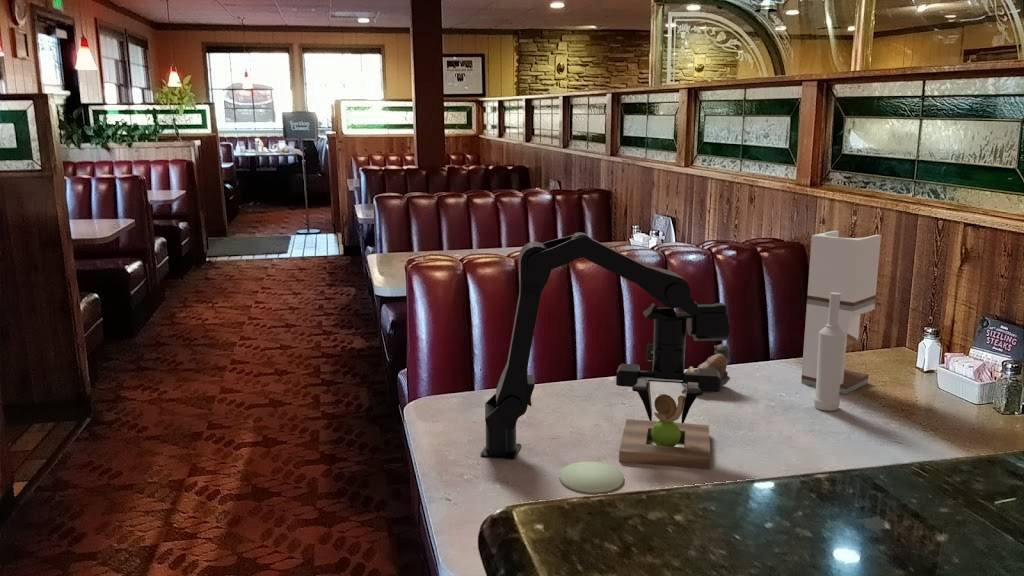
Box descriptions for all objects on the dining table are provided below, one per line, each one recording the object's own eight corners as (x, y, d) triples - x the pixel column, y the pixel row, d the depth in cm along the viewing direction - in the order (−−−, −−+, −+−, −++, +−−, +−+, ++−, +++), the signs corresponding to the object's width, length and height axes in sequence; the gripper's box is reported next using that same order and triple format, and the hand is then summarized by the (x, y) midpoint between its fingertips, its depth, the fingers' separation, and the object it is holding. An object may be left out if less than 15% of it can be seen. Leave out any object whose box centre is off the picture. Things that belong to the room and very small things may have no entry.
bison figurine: (691, 397, 175) (692, 353, 173) (673, 387, 181) (674, 345, 179) (735, 390, 179) (737, 347, 177) (716, 381, 185) (718, 340, 183)
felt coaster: (620, 495, 128) (620, 492, 128) (554, 489, 131) (554, 486, 131) (626, 467, 139) (626, 464, 139) (564, 462, 141) (564, 459, 141)
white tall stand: (845, 394, 176) (858, 240, 168) (801, 383, 183) (811, 235, 176) (867, 382, 183) (881, 234, 176) (824, 372, 191) (835, 230, 184)
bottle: (835, 403, 170) (844, 290, 165) (842, 411, 165) (852, 296, 160) (810, 402, 171) (819, 290, 166) (817, 410, 166) (826, 295, 160)
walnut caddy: (709, 469, 138) (710, 458, 138) (618, 461, 142) (619, 450, 141) (708, 434, 153) (708, 425, 153) (626, 428, 157) (626, 418, 156)
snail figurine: (677, 456, 143) (678, 394, 141) (645, 448, 147) (646, 387, 145) (690, 447, 147) (691, 386, 145) (659, 439, 151) (660, 380, 149)
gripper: (720, 332, 149) (716, 409, 152) (622, 327, 153) (620, 403, 156) (722, 348, 138) (718, 431, 141) (616, 342, 142) (615, 423, 146)
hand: (666, 421), depth 146 cm, fingers open, 5 cm apart
